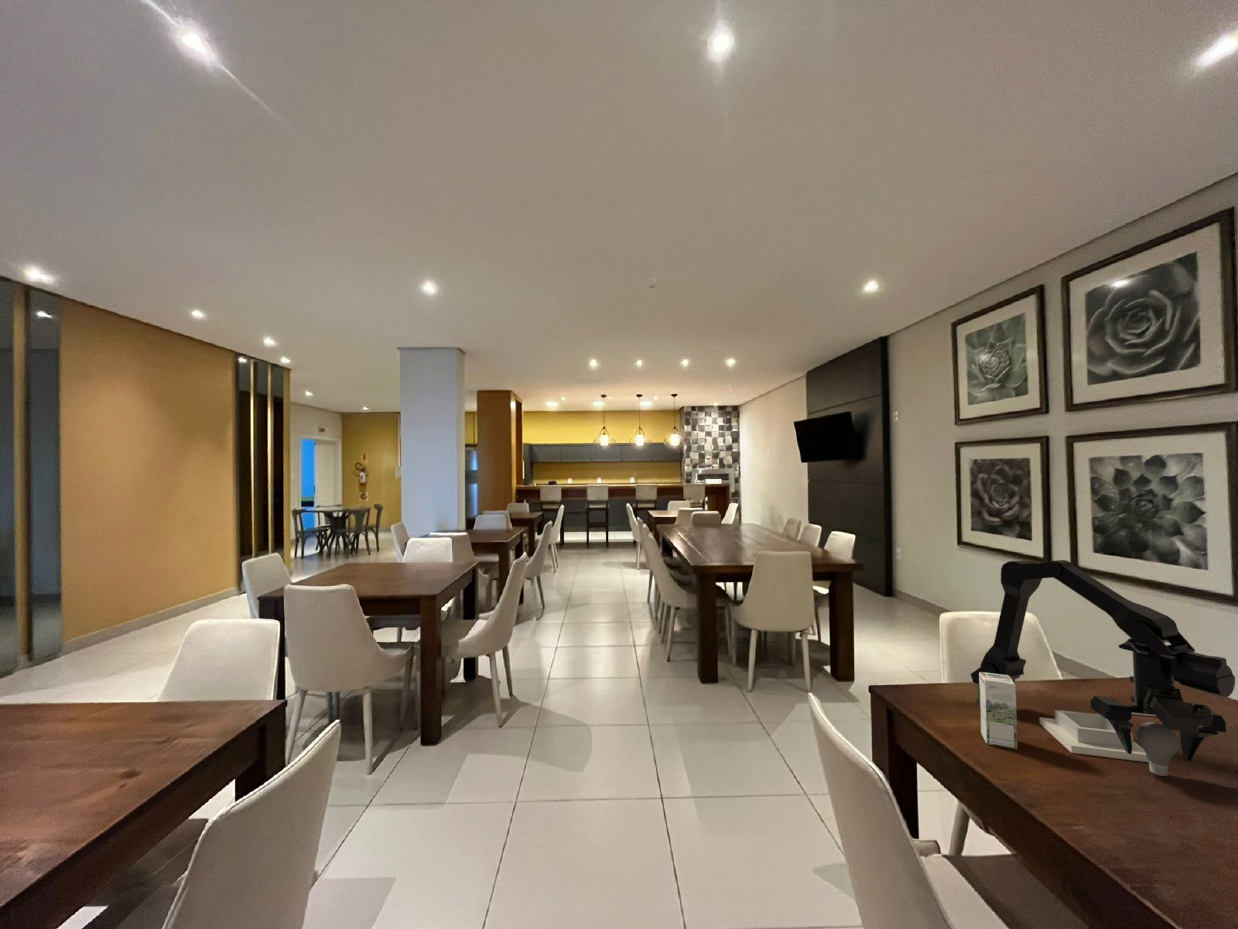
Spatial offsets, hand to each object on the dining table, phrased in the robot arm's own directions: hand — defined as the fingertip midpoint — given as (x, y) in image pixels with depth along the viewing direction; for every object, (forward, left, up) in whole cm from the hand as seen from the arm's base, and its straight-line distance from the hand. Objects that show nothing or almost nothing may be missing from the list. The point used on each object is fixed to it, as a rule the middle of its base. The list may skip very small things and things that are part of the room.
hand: (1157, 756), depth 101 cm
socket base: (-5, +12, -4) cm, 13 cm away
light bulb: (0, 0, -4) cm, 4 cm away
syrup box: (-25, +6, -4) cm, 26 cm away
